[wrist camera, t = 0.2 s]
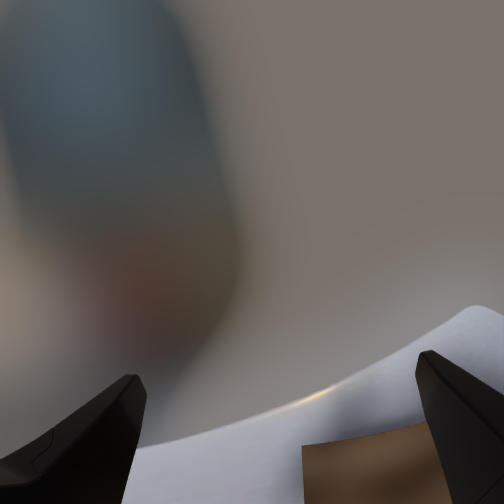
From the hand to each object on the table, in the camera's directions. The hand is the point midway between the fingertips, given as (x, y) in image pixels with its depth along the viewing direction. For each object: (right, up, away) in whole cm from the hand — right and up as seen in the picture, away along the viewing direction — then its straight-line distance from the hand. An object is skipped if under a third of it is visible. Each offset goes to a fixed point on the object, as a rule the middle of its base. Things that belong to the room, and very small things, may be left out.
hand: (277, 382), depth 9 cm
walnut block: (+8, -15, +6) cm, 18 cm away
